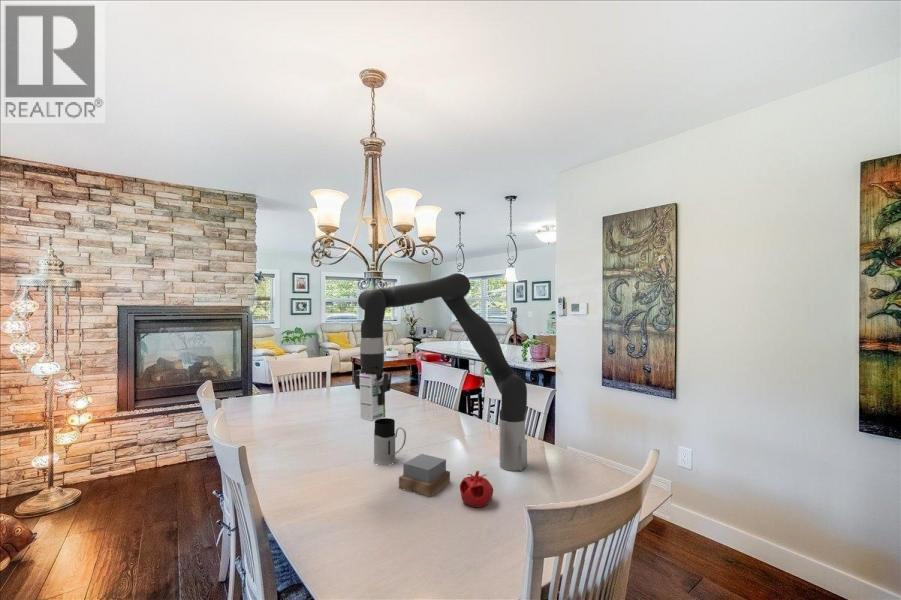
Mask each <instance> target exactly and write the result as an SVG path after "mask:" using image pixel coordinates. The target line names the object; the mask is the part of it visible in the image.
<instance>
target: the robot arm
mask: <svg viewBox="0 0 901 600" xmlns="http://www.w3.org/2000/svg"><path fill="white" fill-rule="evenodd" d="M470 290H471V282H470V279H469V277H467V276H466V275H465V274H463V273H460V272H456V273H452V274H449V275H447V276H445V277H444V276H443V277H442V278H437V279H433V280H428V281H423V282H414V283H408V284H407V283H406V284H399V285H395V286H390V287H386V288H373V289H372V288H371V289H366V290H363V291H362V292H361V293H360V294H359V296H358V299H357V304H358V305H359V307H360V308H361V309H362V310H363V311H364V316H363V320H362V321H361V323H360V325H361V326H360V345H359V347H360V348H359V353H360V355H359V357H360V360H359V363H360V367H361V369H357V370H354V371H353V376H354V377H353V378H354V387H355V389H356V390H359V391H360V374H368V373H370V374H372V375H373V374H376V379H377V380H376V379H375V387H376V388H377V391H378V393H379V394H378V405H380V406H381V405H383V404H384V403H385V404H386V392H390V391H391V385H392V377H393V376H392V372H389V371H388V372H385V371H384V366H385V341H384V320H385V316H386V315H385V314H386V309H387V308H399V307H405V306H412V305H415V304H419V303H423V302H425V301H429V300H433V299H436V298H437V299H438V298H441V300H442V301H443V302H444V303H445V305H446V307H447V308H448V309H449V310H450V312H451V313H452V314H453V316H454V317H455V319H456V320H457V323H458V324H459V325H460V327H461V329H462V330H463V332H464V334H465V336H466V337H467V339H468V341H469V342H470V344H471V345H472V347H473V349H474V350H475V352H476V354H477V355H478V356H479V358H480V359H481V360H482V362H483V363H484V365H485V366H486V368H487V369H488V370H489V372H490V374H491V376H492V378H493V381H494V382H495V385H496V387H497V390H498V392H499V393H500V394H501V402H500V403H501V408H500V410H499V467H500V468H502V469H503V470H506V471H509V472H510V471H512V472H518V471H519V472H522V471H523V470H524V469H525V468H526V467H527V466H528V439H527V438H526V414H527V410H528V409H527V408H528V407H527V406H528V403H527V402H528V389H527V384H526V382H525V380H524V379H523V378H522V377H520V376H519V375H517V374H516V373H515V371H514V370H513V368H512V367H511V366H510V364H509V363H508V361H507V359H506V357H505V355H504V351H503V350H502V347H501V344H500V342H499V339H498V337H497V336H496V333H495V332H494V331H493V328H492V327H491V325H490V324H489V322H488V321H486V320H485V319H484V318H483V316H481V315H480V314H478V313H477V312H475V310H473V309H472V308H471V306H470V305H469V303H468V301H467V300H466V299H465V297H466V296H467V295H469V292H470ZM382 377H383V380H382V383H377V381H379V380H381V378H382ZM380 386H381V388H380Z"/></svg>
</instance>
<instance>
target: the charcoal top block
mask: <svg viewBox="0 0 901 600" xmlns="http://www.w3.org/2000/svg"><path fill="white" fill-rule="evenodd" d="M402 464H403V467H402V468H403V469H402V470H403V471H402V472H403V474H402V475H403V476H406V477H409V478H413V479H416V480H420V481H423V482H427V483H430V482H431V481H433V480H434V479H436V478H437V477H439V476H440V475H442V474H443V473H445V472H446V471H447V460H446V458H445V459H444V458H441V457H438V456H432V455H428V454H424V453H420V454H418V455H417V456H415V457H413V458H410V459H408V460H407V461H406V462H404V463H402Z"/></svg>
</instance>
